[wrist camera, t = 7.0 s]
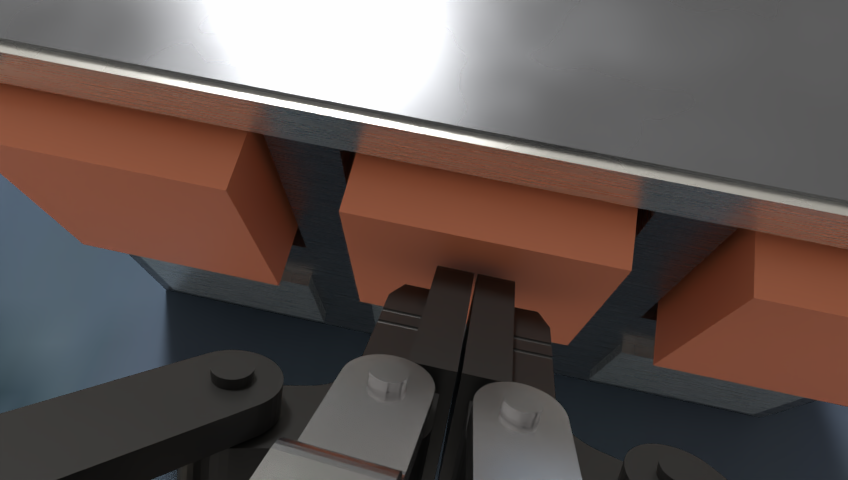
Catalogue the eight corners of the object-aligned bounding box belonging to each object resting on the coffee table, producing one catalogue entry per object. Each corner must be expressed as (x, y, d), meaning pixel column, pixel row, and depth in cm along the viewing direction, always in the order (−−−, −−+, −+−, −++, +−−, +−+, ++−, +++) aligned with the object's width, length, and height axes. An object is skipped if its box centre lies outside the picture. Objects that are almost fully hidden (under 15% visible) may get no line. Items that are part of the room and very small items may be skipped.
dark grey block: (763, 255, 25) (1143, -37, 12) (761, 426, 22) (1232, 292, 10) (220, 147, 26) (35, -218, 13) (162, 296, 24) (-133, 28, 11)
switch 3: (864, 216, 17) (1030, 103, 13) (873, 412, 15) (1073, 363, 11) (667, 178, 17) (759, 54, 13) (652, 365, 16) (753, 297, 11)
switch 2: (591, 163, 18) (655, 34, 13) (567, 345, 16) (631, 270, 11) (406, 127, 18) (403, -10, 13) (360, 301, 16) (338, 211, 11)
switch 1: (333, 114, 18) (306, -27, 13) (279, 286, 16) (226, 190, 12) (157, 80, 18) (72, -68, 14) (83, 244, 17) (-44, 135, 12)
